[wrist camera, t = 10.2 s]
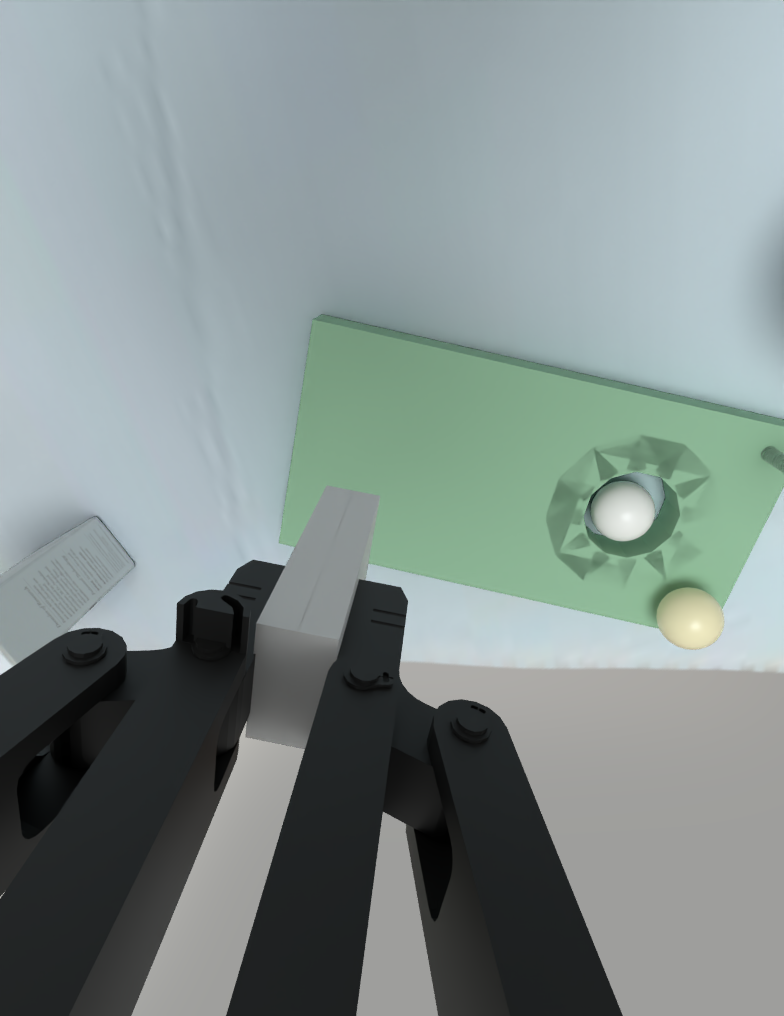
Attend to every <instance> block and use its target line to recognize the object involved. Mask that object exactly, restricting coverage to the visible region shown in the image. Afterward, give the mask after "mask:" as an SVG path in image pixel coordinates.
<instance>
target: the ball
mask: <svg viewBox="0 0 784 1016" xmlns="http://www.w3.org/2000/svg"><path fill="white" fill-rule="evenodd" d="M654 517H655V505H654V502H653V499H652V497H651V496H650V494H649V493H648V492H647V491H646V490H645V489H644V488H643V487H641V486H640V485H638V484H636V483H633V482H628V481H617V482H613V483H610V484H608V485H606V486H604V487H603V488H602V489H600V490H599V491H598V493H597V494H596V495H595V497H594V499H593V501H592V505H591V518H592V521H593V523H594V525H595V527H596V528H597V530H598V531H599V532H600V533H601V534H603V535H604V536H606V537H607V538H609V539H612V540H616V541H630V540H634V539H637V538H639V537H640V536H642V535H643V534H645V533H646V532H647V531H648V530H649V528H650V527H651V525H652V523H653V521H654Z"/></svg>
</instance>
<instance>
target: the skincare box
mask: <svg viewBox="0 0 784 1016" xmlns="http://www.w3.org/2000/svg"><path fill="white" fill-rule="evenodd" d="M134 566H135V565H134V562H133V561H132V560H131V558H130V557H129V556H128V554H127V553H126V551H125V550H124V549H123V548H122V546H121V545H120V544H119V543H118V541H117V540H116V539H115V537H114V536H113V535H112V534H111V533H110V531H109V530H108V529H107V528H106V527H105V525H104V524H103V523H102V522H101V521H100V520H99V519H98V518H97V517H93V518H91V519H89V520H87V521H86V522H84V523H82V524H81V525H79V526H77V527H75V528H74V529H72V530H70V531H68V532H67V533H65V534H63V535H62V536H60V537H58V538H57V539H55V540H53V541H52V542H50V543H48V544H47V545H45V546H43V547H42V548H40V549H39V550H37V551H35V552H34V553H32V554H30V555H29V556H27V557H26V558H25V559H23V560H22V561H20V562H19V563H18V564H16V565H15V566H13V567H12V568H10V569H9V570H8V571H6V572H5V573H3V574H2V575H1V576H0V675H1V674H2V673H4V672H5V671H7V670H8V669H10V668H11V667H13V666H14V665H16V664H17V663H19V662H20V661H22V660H23V659H25V658H26V657H28V656H29V655H31V654H32V653H34V652H35V651H37V650H38V649H40V648H41V647H43V646H44V645H46V644H47V643H49V642H50V641H52V640H53V639H55V638H57V637H59V636H61V635H63V634H65V633H66V632H67V631H68V630H69V629H70V628H71V627H72V626H73V625H74V624H75V623H77V622H78V621H79V620H80V619H81V618H82V617H83V616H84V615H85V614H86V613H87V612H88V611H89V610H90V609H91V608H92V607H93V606H94V605H95V604H96V603H97V602H98V601H99V600H100V599H101V598H102V597H103V596H104V595H105V594H107V593H108V592H109V591H110V590H111V589H112V588H113V587H114V586H115V585H116V584H117V583H118V582H119V581H120V580H121V579H122V578H123V577H124V576H125V575H126V574H127V573H128V572H129V571H130V570H131V569H132V568H133V567H134Z"/></svg>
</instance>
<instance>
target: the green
mask: <svg viewBox="0 0 784 1016" xmlns="http://www.w3.org/2000/svg"><path fill="white" fill-rule="evenodd" d="M769 446H772V447H775V448H776V449H778V450H780V451H781V452H783V453H784V419H779V418H775V417H770V416H766V415H762V414H757V413H753V412H748V411H744V410H740V409H735V408H731V407H726V406H722V405H718V404H713V403H709V402H705V401H700V400H696V399H691V398H687V397H683V396H678V395H674V394H669V393H665V392H661V391H656V390H652V389H647V388H643V387H639V386H634V385H630V384H626V383H621V382H617V381H612V380H608V379H604V378H599V377H595V376H590V375H586V374H582V373H577V372H573V371H568V370H564V369H560V368H555V367H551V366H546V365H542V364H538V363H533V362H529V361H525V360H520V359H516V358H511V357H507V356H503V355H498V354H494V353H489V352H485V351H481V350H476V349H472V348H467V347H463V346H459V345H454V344H450V343H445V342H441V341H437V340H432V339H428V338H424V337H419V336H415V335H410V334H406V333H402V332H397V331H393V330H388V329H384V328H380V327H375V326H371V325H366V324H362V323H358V322H353V321H349V320H345V319H340V318H336V317H331V316H327V315H323V314H321V315H320V316H318V317H316V318H314V319H313V321H312V327H311V334H310V340H309V347H308V354H307V360H306V367H305V373H304V380H303V387H302V393H301V400H300V406H299V413H298V420H297V426H296V433H295V439H294V446H293V453H292V459H291V466H290V472H289V479H288V486H287V492H286V499H285V505H284V512H283V519H282V525H281V532H280V538H279V543H280V544H285V545H289V546H293V547H295V546H296V544H297V543H298V541H299V539H300V537H301V535H302V533H303V531H304V529H305V527H306V525H307V523H308V521H309V519H310V517H311V515H312V513H313V511H314V509H315V507H316V505H317V503H318V501H319V499H320V497H321V496H322V494H323V492H324V490H325V488H326V486H332V487H338V488H343V489H348V490H353V491H358V492H363V493H368V494H373V495H378V496H380V501H379V506H378V512H377V518H376V523H375V529H374V534H373V540H372V546H371V551H370V557H369V562H368V563H369V564H374V565H378V566H383V567H387V568H391V569H396V570H400V571H405V572H409V573H414V574H418V575H423V576H427V577H432V578H436V579H440V580H445V581H449V582H454V583H458V584H463V585H467V586H472V587H476V588H481V589H485V590H489V591H494V592H498V593H503V594H507V595H512V596H516V597H521V598H525V599H529V600H534V601H538V602H543V603H547V604H552V605H556V606H561V607H565V608H570V609H574V610H578V611H583V612H587V613H592V614H596V615H601V616H605V617H610V618H614V619H619V620H623V621H627V622H632V623H636V624H641V625H645V626H650V627H654V628H659V627H658V624H657V618H656V615H657V608H658V606H659V603H660V602H661V600H662V599H663V598H664V597H665V596H666V595H667V594H668V593H670V592H671V591H673V590H676V589H679V588H686V587H690V588H697V589H700V590H703V591H705V592H707V593H708V594H710V595H711V596H712V597H714V598H715V599H716V601H717V602H718V603H719V605H720V606H721V608H723V606H724V604H725V603H726V601H727V599H728V597H729V595H730V593H731V591H732V589H733V587H734V585H735V583H736V581H737V579H738V577H739V575H740V573H741V571H742V569H743V567H744V565H745V563H746V561H747V559H748V557H749V555H750V553H751V551H752V549H753V547H754V545H755V543H756V541H757V539H758V537H759V535H760V533H761V531H762V529H763V527H764V525H765V523H766V521H767V519H768V517H769V515H770V513H771V511H772V509H773V507H774V505H775V503H776V501H777V499H778V497H779V495H780V493H781V491H782V489H783V487H784V474H783V473H782V472H780V471H779V470H778V469H776V468H775V467H773V466H772V465H770V464H769V463H767V462H766V461H764V460H763V459H762V458H761V452H762V451H763V449H765V448H766V447H769ZM633 472H640V473H644V474H648V475H653V476H657V477H661V478H662V480H663V486H664V492H665V501H664V503H663V505H662V508H661V510H660V512H659V515H658V517H657V519H656V520H654V521H653V523H652V525H651V527H650V528H649V530H648V531H647V532H646V533H645V534H643V535H642V536H640V537H639V538H637V539H634V540H630V541H616V540H612V539H609V538H607V537H606V536H602V535H598V534H594V533H593V532H592V531H591V530H590V529H589V528H588V527H587V526H586V525H585V522H584V517H583V516H584V514H585V511H586V508H587V506H588V503H589V500H590V498H591V495H592V494H593V493H594V492H596V491H597V490H598V489H599V488H600V487H601V486H602V485H604V484H605V483H606V482H607V481H608V480H609V479H611V478H614V477H618V476H622V475H626V474H629V473H633Z"/></svg>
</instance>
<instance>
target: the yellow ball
mask: <svg viewBox="0 0 784 1016" xmlns="http://www.w3.org/2000/svg"><path fill="white" fill-rule="evenodd" d="M656 618H657V624H658V627H659V629H660V631H661V633H662V634H663V636H664V637H665V638H666V639H667V640H668V641H669V642H671V643H672V644H674V645H676V646H678V647H681V648H684V649H690V650H697V649H702V648H705V647H707V646H710V645H711V644H713V643H714V642H715V641H716V640H717V639H718V638H719V637H720V635H721V633H722V631H723V628H724V614H723V611H722V608H721V606H720V605H719V603H718V602H717V601H716V599H715V598H714V597H712V596H711V595H710V594H708V593H707V592H705V591H703V590H700V589H697V588H690V587H686V588H679V589H676V590H673V591H671V592H670V593H668V594H667V595H666V596H665V597H664V598H663V599H662V600H661V602H660V603H659V606H658V608H657V615H656Z"/></svg>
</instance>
